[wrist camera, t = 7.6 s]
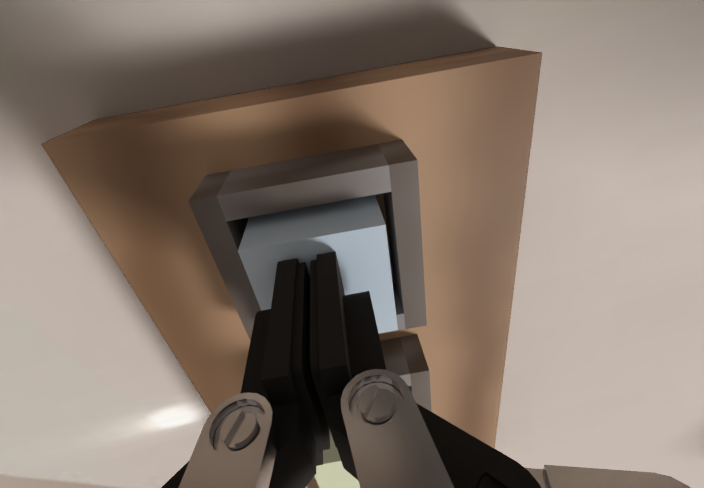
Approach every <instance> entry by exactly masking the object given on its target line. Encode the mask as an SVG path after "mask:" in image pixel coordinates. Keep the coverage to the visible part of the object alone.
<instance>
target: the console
mask: <svg viewBox="0 0 704 488" xmlns="http://www.w3.org/2000/svg"><path fill="white" fill-rule="evenodd" d="M541 57H542V53H541V52H534V51H526V50H519V49H512V48H504V47H492V48H487V49H481V50H476V51H470V52H465V53H460V54H454V55H449V56H443V57H438V58H432V59H427V60H421V61H416V62H410V63H405V64H399V65H394V66H388V67H383V68H377V69H372V70H366V71H361V72H355V73H350V74H344V75H339V76H334V77H328V78H323V79H317V80H312V81H306V82H301V83H295V84H290V85H284V86H279V87H273V88H268V89H262V90H257V91H251V92H246V93H240V94H235V95H229V96H224V97H218V98H213V99H207V100H202V101H197V102H191V103H186V104H180V105H175V106H169V107H164V108H158V109H153V110H147V111H142V112H136V113H131V114H125V115H120V116H114V117H109V118H103V119H98V120H93V121H91V122H89V123H87V124H85V125H82V126H80V127H78V128H76V129H73V130H71V131H69V132H67V133H64V134H62V135H60V136H58V137H55V138H53V139H51V140H49V141H47V142H44V143H42V144H41V145H42V146H43V148H44V149H45V151H46V152H47V154H48V156H49V157H50V159H51V160H52V162H53V163H54V165H55V167H56V168H57V170H58V171H59V173H60V175H61V176H62V178H63V179H64V181H65V182H66V184H67V186H68V187H69V189H70V190H71V192H72V194H73V195H74V197H75V198H76V200H77V201H78V203H79V205H80V206H81V208H82V209H83V211H84V212H85V214H86V216H87V217H88V219H89V220H90V222H91V224H92V225H93V227H94V228H95V230H96V231H97V233H98V235H99V236H100V238H101V239H102V241H103V242H104V244H105V246H106V247H107V249H108V250H109V252H110V254H111V255H112V257H113V258H114V260H115V261H116V263H117V265H118V266H119V268H120V269H121V271H122V273H123V274H124V276H125V277H126V279H127V280H128V282H129V284H130V285H131V287H132V288H133V290H134V291H135V293H136V295H137V296H138V298H139V299H140V301H141V303H142V304H143V306H144V307H145V309H146V310H147V312H148V314H149V315H150V317H151V318H152V320H153V322H154V323H155V325H156V326H157V328H158V329H159V331H160V333H161V334H162V336H163V337H164V339H165V340H166V342H167V344H168V345H169V347H170V348H171V350H172V352H173V353H174V355H175V356H176V358H177V359H178V361H179V363H180V364H181V366H182V367H183V369H184V370H185V372H186V374H187V375H188V377H189V378H190V380H191V382H192V383H193V385H194V386H195V388H196V389H197V391H198V393H199V394H200V396H201V397H202V399H203V401H204V402H205V404H206V405H207V407H208V408H209V410H210V412H211V413H212V412H213V411H214V410H215V409H216V408H217V406H219V405H220V404H221V403H223V402H224V401H225V400H227V399H228V398H231V397H233V396H235V395H237V394H240V393H241V388H242V383H243V378H244V373H245V367H246V362H247V357H248V352H249V346H250V341H251V336H252V331H253V325H254V320H255V316H256V313H257V312H258V311H261V308H260V306H259V303H258V301H257V298H256V296H255V293H254V291H253V288H252V286H251V283H250V281H249V278H248V276H247V273H246V271H245V268H244V265H243V263H242V260H241V258H240V255H239V253H238V249H239V246H240V243H241V240H242V237H243V234H244V231H245V228H246V225H247V222H248V219H249V217H254V216H260V215H265V214H271V213H276V212H282V211H287V210H293V209H298V208H304V207H309V206H315V205H321V204H326V203H332V202H337V201H343V200H348V199H354V198H359V197H365V196H370V195H375V196H376V199H377V202H378V204H379V207H380V210H381V213H382V216H383V219H384V221H385V224H386V232H387V241H388V249H389V258H390V266H391V274H392V283H393V291H394V300H395V308H396V317H397V325H398V330H395V331H390V332H384V333H378V334H379V338H380V343H381V347H382V352H383V357H384V361H385V366H386V370H388V371H391V372H393V373H396V374H397V375H398V376H400V377H401V378H402V379H403V380H404V381H405V382H406V384H407V385H408V387H409V389H410V391H411V393H412V395H413V398H414V400H415V402H416V403H417V404H419V405H421V406H422V407H424V408H426V409H428V410H429V411H431V412H433V413H434V414H436V415H438V416H439V417H441V418H443V419H445V420H446V421H448V422H450V423H451V424H453V425H455V426H456V427H458V428H460V429H462V430H463V431H465V432H467V433H468V434H470V435H472V436H474V437H475V438H477V439H479V440H480V441H482V442H484V443H485V444H487V445H489V446H491V447H492V448H494V449H495V441H496V432H497V424H498V416H499V407H500V399H501V390H502V382H503V374H504V365H505V357H506V349H507V340H508V332H509V324H510V315H511V307H512V299H513V290H514V282H515V274H516V265H517V257H518V249H519V240H520V232H521V224H522V215H523V207H524V199H525V190H526V182H527V173H528V165H529V157H530V148H531V140H532V132H533V123H534V115H535V107H536V98H537V90H538V82H539V73H540V65H541ZM307 488H319V486H318V483H317V481H316V479H315V476H314V477H313V478H312V480H311V481H310V482H309V484H308V485H307Z"/></svg>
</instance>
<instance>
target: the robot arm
mask: <svg viewBox="0 0 704 488" xmlns="http://www.w3.org/2000/svg"><path fill="white" fill-rule="evenodd" d="M330 432H331V435H332V438H333V441H334V444H335V447H336V448H337V450H338V453H339V456H340V459H341V462H342V465H343V468H344V469H345V470H346V471H347V472H349V473H350V474H351V475H352V476H353V477H355V478H356V479H357V480H358V481H359V485H360V488H690V487H689V486H687V485H686V484H684V483H682V482H680V481H678V480H676V479H674V478H672V477H670V476H666V475H661V474H657V473H651V472H637V471H623V470H609V469H595V468H581V467H567V466H554V465H544V469H532V468H524V467H523V466H521V465H520V464H519V463H517V462H516V461H514V460H513V459H511V458H509V457H508V456H506V455H504V454H502V453H501V452H499V451H497V450H496V449H494V448H492V447H491V446H489V445H487V444H485V443H484V442H482V441H480V440H479V439H477V438H475V437H474V436H472V435H470V434H468V433H467V432H465V431H463V430H462V429H460V428H458V427H456V426H455V425H453V424H451V423H450V422H448V421H446V420H445V419H443V418H441V417H439V416H438V415H436V414H434V413H433V412H431V411H429V410H428V409H426V408H424V407H422V406H421V405H419V404H417V403H416V402H415V400H414V398H413V395H412V393H411V391H410V389H409V387H408V385H407V384H406V382H405V381H404V380H403V379H402V378H401V377H400V376H398V375H397V374H396V373H393V372H391V371H388V370H386V366H385V361H384V357H383V352H382V347H381V343H380V338H379V334H378V329H377V324H376V320H375V315H374V310H373V306H372V301H371V297H370V292H369V291H366V292H360V293H355V294H349V295H345V293H344V288H343V283H342V279H341V274H340V270H339V265H338V260H337V256H336V252H335V251H334V252H328V253H323V254H317V260H312V261H310V276H309V272H308V269H307V265H306V263H305V262H301V263H299V261H298V259H297V258H295V259H290V260H284V261H279V262H278V263H277V269H276V276H275V283H274V290H273V297H272V304H271V309H267V310H262V311H258V312H257V313H256V316H255V320H254V325H253V331H252V336H251V341H250V346H249V352H248V357H247V362H246V367H245V373H244V378H243V383H242V388H241V393H240V394H237V395H235V396H233V397H231V398H228V399H227V400H225V401H224V402H223V403H221V404H220V405H219V406H217V408H216V409H215V410H214V411H213V412H212V413H211V414H210V416H209V417H208V419H207V421H206V423H205V425H204V427H203V429H202V431H201V434H200V436H199V439H198V441H197V444H196V446H195V449H194V451H193V453H192V456H191V458H190V461H189V462H188V463H187V464H185V465H184V466H183V467H182V468H181V469H180V470H179V471H178V472H177V473H176V474H175V475H174V476H173V477H172V478H171V479H170V480H169V481H168V482H167V483H166V484H165V485H164V486H163V487H162V488H307V485H308V484H309V482H310V481H311V480H312V478H313V477H314V476H315V475H316V466H318V465H323V450H328V449H330Z"/></svg>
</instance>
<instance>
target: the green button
mask: <svg viewBox="0 0 704 488" xmlns="http://www.w3.org/2000/svg"><path fill="white" fill-rule="evenodd" d="M315 479H316V481H317V483H318V486H319V488H360V485H359V481H358V480H357V479H356V478H355V477H353V476H352V475H351V474H350V473H349V472H347V471H346V470H345V469H344V468H343V465H342V462H341V459H340V456H339V453H338V450H337V448H336V447H335V444H334V441H333V438H332V435H331V432H330V449H328V450H323V465H318V466H316V475H315Z"/></svg>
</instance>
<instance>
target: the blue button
mask: <svg viewBox="0 0 704 488" xmlns="http://www.w3.org/2000/svg"><path fill="white" fill-rule="evenodd" d="M334 251H335V252H336V256H337V260H338V265H339V270H340V274H341V279H342V283H343V288H344V293H345V295H349V294H355V293H360V292H366V291H369V292H370V297H371V301H372V306H373V310H374V315H375V320H376V324H377V329H378V333H384V332H390V331H395V330H398V325H397V317H396V308H395V300H394V291H393V283H392V274H391V266H390V258H389V249H388V241H387V232H386V224H385V221H384V219H383V216H382V213H381V210H380V207H379V204H378V202H377V199H376V196H375V195H370V196H365V197H359V198H354V199H348V200H343V201H337V202H332V203H326V204H321V205H315V206H309V207H304V208H298V209H293V210H287V211H282V212H276V213H271V214H265V215H260V216H254V217H249V219H248V222H247V225H246V228H245V231H244V234H243V237H242V240H241V243H240V246H239V249H238V253H239V255H240V258H241V260H242V263H243V265H244V268H245V271H246V273H247V276H248V278H249V281H250V283H251V286H252V288H253V291H254V293H255V296H256V298H257V301H258V303H259V306H260V308H261V311H262V310H267V309H271V304H272V297H273V290H274V283H275V276H276V269H277V263H278V262H279V261H284V260H290V259H295V258H297V259H298V261H299V263H301V262H305V263H306V265H307V269H308V272H309V276H310V261H312V260H317V254H323V253H328V252H334Z"/></svg>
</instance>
